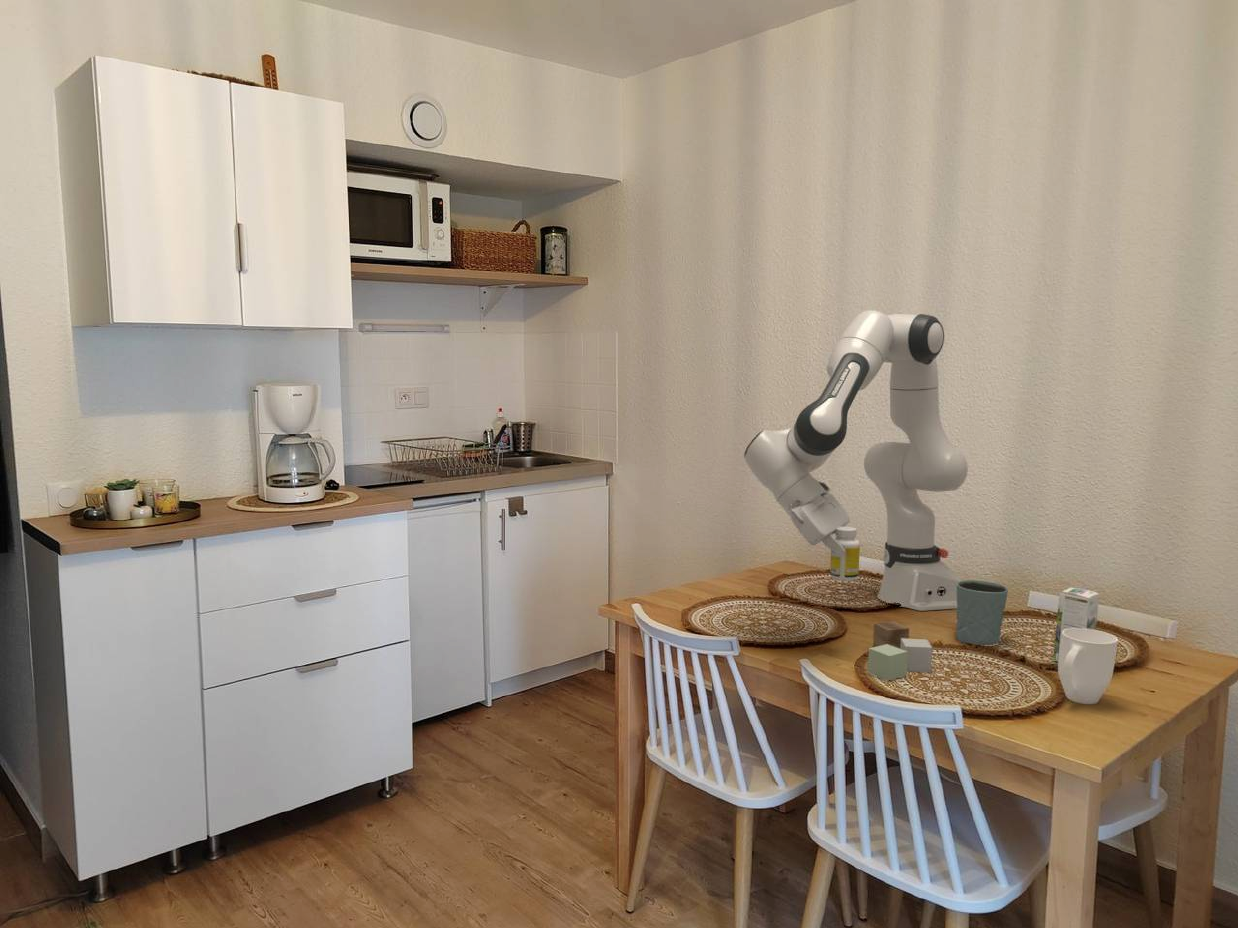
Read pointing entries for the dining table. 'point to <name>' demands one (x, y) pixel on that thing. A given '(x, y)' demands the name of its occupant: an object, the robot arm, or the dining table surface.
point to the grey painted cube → (917, 654)
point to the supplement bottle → (846, 556)
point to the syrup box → (1075, 612)
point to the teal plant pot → (980, 611)
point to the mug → (1086, 663)
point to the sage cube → (887, 662)
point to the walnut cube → (889, 634)
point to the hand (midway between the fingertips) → (848, 550)
